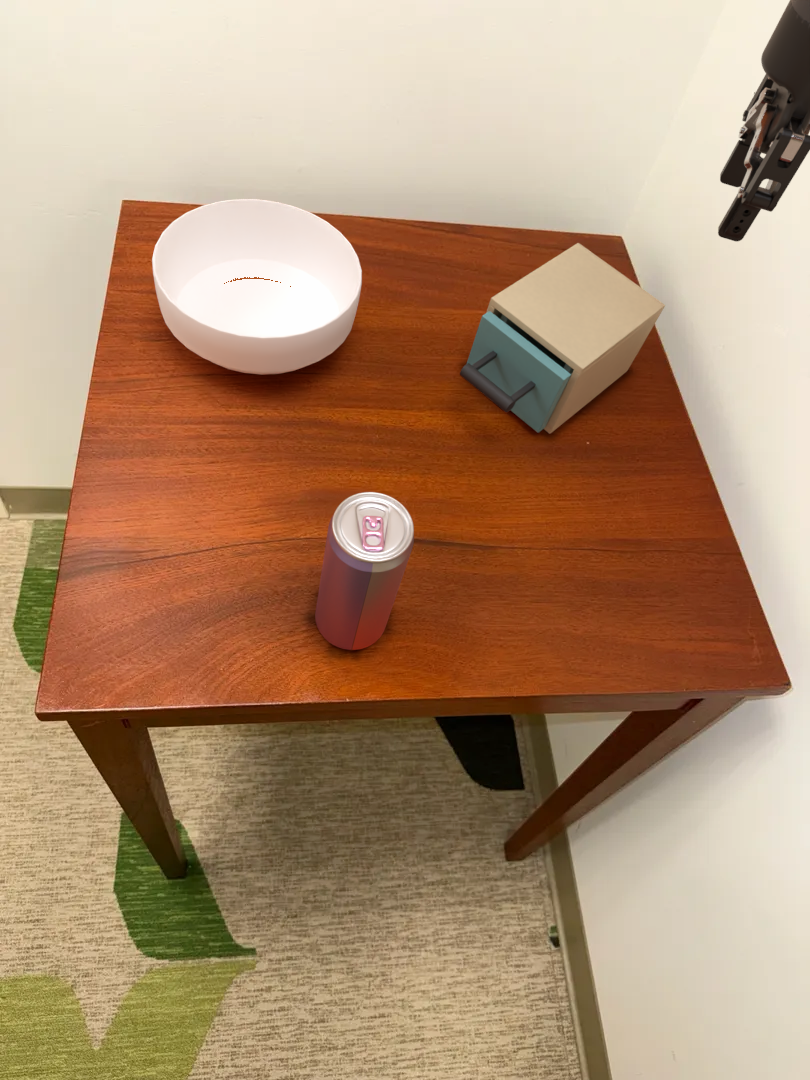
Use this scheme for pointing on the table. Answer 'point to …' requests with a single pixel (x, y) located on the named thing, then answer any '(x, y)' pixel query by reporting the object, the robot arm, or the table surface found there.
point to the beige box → (581, 321)
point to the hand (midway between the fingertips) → (728, 208)
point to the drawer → (515, 371)
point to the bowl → (256, 285)
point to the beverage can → (362, 568)
